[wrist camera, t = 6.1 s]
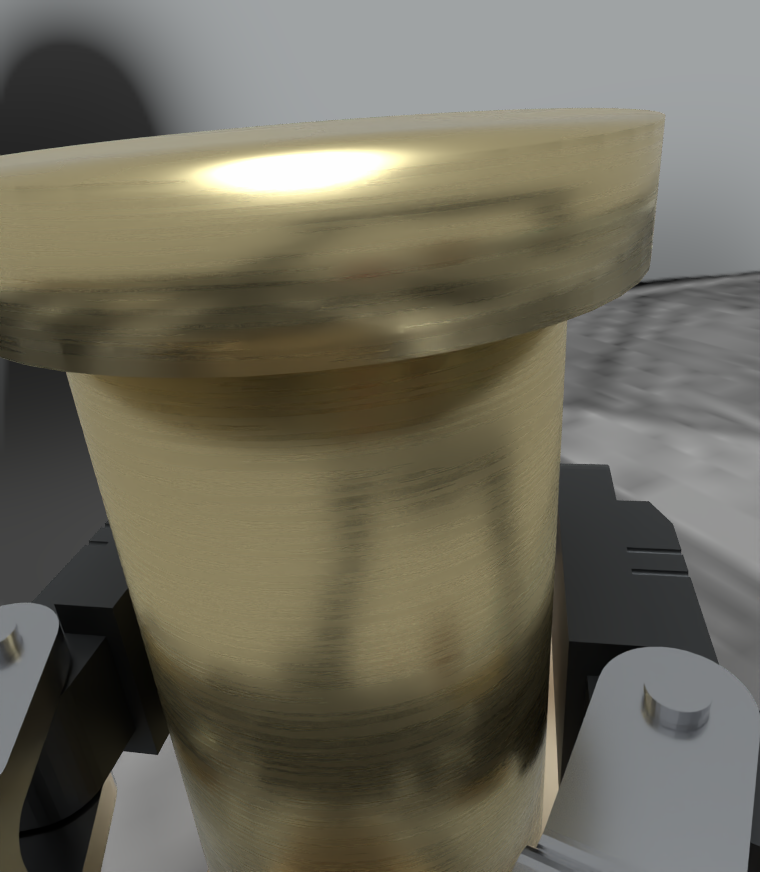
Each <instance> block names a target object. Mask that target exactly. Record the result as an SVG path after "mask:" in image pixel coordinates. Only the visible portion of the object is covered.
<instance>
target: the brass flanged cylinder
mask: <svg viewBox="0 0 760 872" xmlns="http://www.w3.org/2000/svg"><path fill="white" fill-rule="evenodd" d="M664 123H665V114H662V113H660V112H655V111H649V110H636V109H617V108H558V109H520V110H494V111H474V112H473V111H472V112H452V113H435V114H417V115H401V116H386V117H371V118H357V119H343V120H329V121H316V122H305V123H292V124H281V125H269V126H256V127H246V128H234V129H223V130H213V131H202V132H192V133H183V134H173V135H163V136H153V137H144V138H135V139H126V140H117V141H108V142H100V143H92V144H84V145H76V146H67V147H59V148H51V149H44V150H37V151H30V152H22V153H16V154H9V155H2V156H0V357H1V358H5V359H8V360H11V361H15V362H18V363H21V364H25V365H30V366H36V367H41V368H47V369H53V370H59V371H64V372H66V373H67V377H68V380H69V384H70V387H71V391H72V394H73V398H74V401H75V405H76V408H77V412H78V415H79V419H80V422H81V426H82V429H83V433H84V436H85V439H86V443H87V447H88V450H89V454H90V457H91V460H92V464H93V468H94V471H95V474H96V478H97V481H98V485H99V488H100V492H101V495H102V499H103V502H104V506H105V509H106V513H107V516H108V520H109V523H110V527H111V530H112V534H113V537H114V541H115V544H116V548H117V551H118V555H119V558H120V562H121V565H122V569H123V572H124V576H125V579H126V583H127V586H128V590H129V593H130V597H131V600H132V604H133V607H134V611H135V614H136V618H137V621H138V625H139V628H140V631H141V635H142V638H143V642H144V645H145V649H146V652H147V656H148V659H149V663H150V666H151V670H152V673H153V677H154V680H155V684H156V687H157V691H158V694H159V698H160V701H161V705H162V708H163V712H164V715H165V719H166V722H167V726H168V729H169V733H170V736H171V740H172V743H173V747H174V750H175V754H176V757H177V761H178V764H179V767H180V771H181V774H182V778H183V781H184V785H185V788H186V792H187V795H188V799H189V802H190V806H191V809H192V813H193V816H194V820H195V823H196V827H197V830H198V834H199V837H200V841H201V844H202V848H203V851H204V855H205V858H206V862H207V865H208V869H209V872H512V870H513V868H514V866H515V863H516V861H517V859H518V858H519V856H520V854H521V852H522V851H523V850H524V848H525V847H526V846H527V845H531V846H533V847H536V846H537V844H538V843H539V841H540V839H541V836H542V816H543V796H544V776H545V755H546V735H547V715H548V695H549V675H550V655H551V634H552V614H553V594H554V574H555V554H556V533H557V513H558V493H559V473H560V453H561V433H562V412H563V392H564V372H565V352H566V332H567V320H569V319H572V318H574V317H577V316H579V315H582V314H585V313H587V312H590V311H593V310H595V309H597V308H598V307H600V306H602V305H604V304H606V303H608V302H610V301H612V300H614V299H616V298H618V297H620V296H622V295H623V294H624V293H626V292H627V291H628V290H630V289H631V288H632V287H634V286H635V285H636V284H638V283H639V282H640V281H641V279H642V278H643V277H644V275H645V274H646V273H647V272H648V270H649V267H650V261H651V253H652V243H653V233H654V223H655V213H656V203H657V193H658V184H659V174H660V164H661V153H662V144H663V134H664V133H663V132H664Z"/></svg>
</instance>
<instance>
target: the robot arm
mask: <svg viewBox="0 0 760 872" xmlns="http://www.w3.org/2000/svg"><path fill="white" fill-rule="evenodd" d="M551 639H552V660H553V681H554V702H555V723H556V744H557V764H558V785H559V790H558V793H557V796H556V798H555V801H554V804H553V807H552V809H551V812H550V815H549V818H548V821H547V823H546V826H545V829H544V832H543V834H542V836H541V839H540V841H539V843H538V844H537V846H536V847H533V846H531V845H527V846H526V847H525V848H524V850H523V851H522V852H521V854H520V856H519V858H518V859H517V861H516V863H515V866H514V868H513V870H512V872H760V711H759V710H758V706H757V704H756V702H755V700H754V698H753V696H752V695H751V694H750V692H749V691H748V690H747V688H746V687H745V686H744V685H743V684H742V683H741V682H740V681H739V680H738V679H737V678H736V677H735V676H734V675H733V674H731V673H730V672H729V671H727V670H726V669H725V668H723V667H722V666H720V665H719V663H718V660H717V657H716V654H715V651H714V648H713V645H712V642H711V639H710V636H709V633H708V630H707V627H706V624H705V621H704V618H703V614H702V611H701V608H700V605H699V602H698V599H697V596H696V593H695V590H694V587H693V584H692V581H691V578H690V577H688V569H687V566H686V563H685V560H684V557H683V555H681V548H680V545H679V542H678V538H677V535H676V532H675V529H674V526H673V524H672V523H671V522H670V521H669V520H668V519H667V518H666V517H665V516H664V515H663V514H662V513H661V512H660V511H659V510H657V509H656V508H655V507H654V506H653V505H652V504H651V503H650V502H649V501H618V500H616V496H615V491H614V487H613V482H612V477H611V473H610V468H609V466H608V465H599V464H560V473H559V493H558V513H557V533H556V554H555V574H554V594H553V614H552V634H551ZM168 735H169V729H168V726H167V722H166V719H165V715H164V712H163V708H162V705H161V701H160V698H159V694H158V691H157V687H156V684H155V680H154V677H153V673H152V670H151V666H150V663H149V659H148V656H147V652H146V649H145V645H144V642H143V638H142V635H141V631H140V628H139V625H138V621H137V618H136V614H135V611H134V607H133V604H132V600H131V597H130V593H129V590H128V586H127V583H126V579H125V576H124V572H123V569H122V565H121V562H120V558H119V555H118V551H117V548H116V544H115V541H114V537H113V534H112V530H111V527H110V523H109V520H108V521H107V522H106V523H105V528H100V530H99V531H98V532H97V533H96V534H95V535H94V536H93V537H92V538H91V539H90V540H89V545H88V546H87V545H85V546H84V547H83V548H82V549H81V550H80V551H79V552H78V553H77V554H76V555H75V556H74V557H73V559H72V560H71V561H70V562H69V563H68V564H67V565H66V566H65V567H64V568H63V569H62V570H61V571H60V573H59V574H58V575H57V576H56V577H55V578H54V579H53V580H52V581H51V582H50V583H49V584H48V585H47V586H46V587H45V589H44V590H43V591H42V592H41V593H40V594H39V595H38V596H37V597H36V598H35V599H34V600H33V601H32V602H31V603H16V604H10V605H4V606H0V872H101V867H102V862H103V858H104V853H105V848H106V844H107V839H108V834H109V830H110V825H111V820H112V816H113V811H114V806H115V802H116V796H117V784H116V781H115V778H114V775H113V772H112V769H113V767H114V765H115V764H116V762H117V760H118V759H119V757H120V755H121V754H122V752H123V751H127V752H136V753H145V754H154V755H158V753H159V752H160V750H161V748H162V746H163V744H164V742H165V740H166V739H167V737H168Z"/></svg>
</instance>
